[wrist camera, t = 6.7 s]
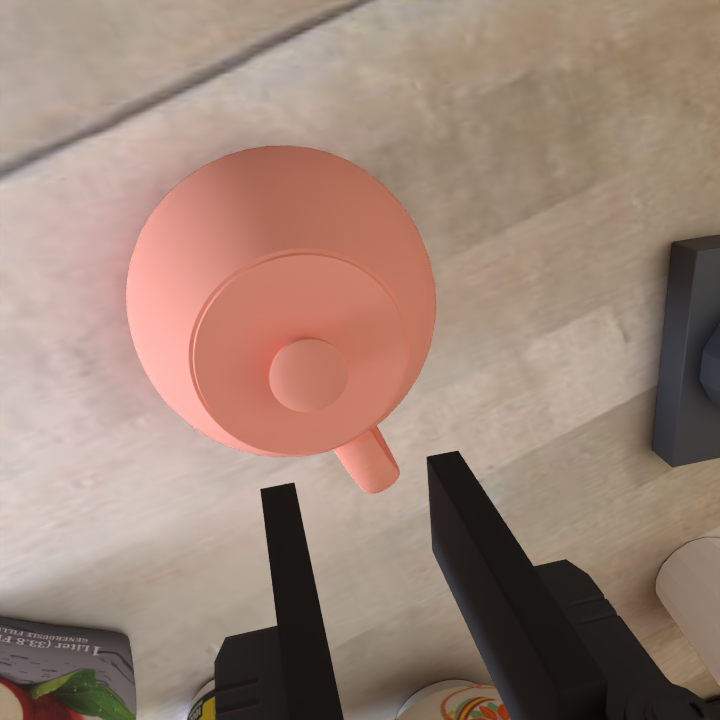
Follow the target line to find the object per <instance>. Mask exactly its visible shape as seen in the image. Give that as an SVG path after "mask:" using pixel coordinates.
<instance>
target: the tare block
mask: <svg viewBox="0 0 720 720" xmlns="http://www.w3.org/2000/svg"><path fill="white" fill-rule="evenodd" d="M652 451H654V452H655V453H656V454H657V455H658V456H659V457H661V458H662V459H663V460H664V461H665V462H666V463H668V464H669V465H670V466H671V467H677V466H682V465H686V464H691V463H696V462H701V461H706V460H711V459H716V458H720V235H716V236H709V237H703V238H696V239H690V240H683V241H676V242H673V243H672V252H671V262H670V272H669V282H668V293H667V303H666V313H665V323H664V333H663V343H662V353H661V363H660V374H659V384H658V394H657V404H656V414H655V424H654V434H653V444H652Z"/></svg>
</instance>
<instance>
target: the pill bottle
mask: <svg viewBox="0 0 720 720" xmlns="http://www.w3.org/2000/svg"><path fill="white" fill-rule="evenodd" d="M215 714H216V713H215V679H214V680H212V681H210V682H209V683H208V684H206V685H205V686H204V687H203V688H202V689H201V690H200V691H199V692H198V693H197V695H196V696H195V697H194V699H193V701H192V702H191V704H190V707H189V710H188V716H187V720H215Z"/></svg>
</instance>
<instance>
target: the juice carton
mask: <svg viewBox="0 0 720 720" xmlns="http://www.w3.org/2000/svg"><path fill="white" fill-rule="evenodd" d="M0 720H136V688H135V678H134V669H133V661H132V654H131V647H130V643H129V639H128V636H126V635H124V634H120V633H115V632H109V631H102V630H94V629H85V628H74V627H63V626H54V625H45V624H39V623H32V622H26V621H20V620H15V619H9V618H4V617H0Z"/></svg>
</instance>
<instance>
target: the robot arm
mask: <svg viewBox="0 0 720 720" xmlns="http://www.w3.org/2000/svg"><path fill="white" fill-rule="evenodd" d="M427 470H428V486H429V502H430V518H431V534H432V550H433V553H434V555H435V557H436V559H437V561H438V564H439V566H440V568H441V570H442V572H443V574H444V577H445V579H446V581H447V583H448V585H449V587H450V589H451V592H452V594H453V596H454V598H455V600H456V602H457V605H458V607H459V609H460V611H461V613H462V615H463V617H464V620H465V622H466V624H467V626H468V628H469V630H470V633H471V635H472V637H473V639H474V641H475V643H476V645H477V648H478V650H479V652H480V654H481V656H482V658H483V661H484V663H485V665H486V667H487V669H488V671H489V673H490V676H491V678H492V680H493V682H494V684H495V686H496V689H497V691H498V693H499V695H500V697H501V699H502V701H503V704H504V706H505V708H506V710H507V712H508V714H509V717H510V719H511V720H720V708H719V707H713V706H710V705H707V704H706V703H705V702H704V700H703V699H701V698H700V697H698V696H697V695H695V694H694V693H692V692H691V691H689V690H688V689H686V688H683V687H680V686H678V685H675V684H672V683H671V682H670V681H669V680H668V679H667V678H666V677H665V676H664V674H663V673H662V672H661V670H660V669H659V668H658V666H657V665H656V664H655V662H654V661H653V660H652V658H651V657H650V656H649V654H648V653H647V652H646V650H645V649H644V648H643V646H642V645H641V644H640V642H639V641H638V640H637V638H636V637H635V636H634V634H633V633H632V632H631V630H630V629H629V628H628V626H627V625H626V624H625V622H624V621H623V620H622V618H621V617H620V616H617V613H616V610H615V609H614V608H613V606H612V605H611V604H610V602H609V601H608V600H607V599H605V598H604V594H603V593H602V592H601V590H600V589H599V588H598V586H597V585H596V584H595V582H594V581H593V580H592V578H591V577H590V576H589V575H588V574H587V573H585V572H584V571H582V570H581V569H579V568H578V567H577V566H575V565H574V564H572V563H571V562H569V561H568V560H566V559H565V560H560V561H556V562H551V563H547V564H543V565H538V566H533V565H532V563H531V562H530V560H529V559H528V557H527V555H526V554H525V552H524V551H523V549H522V548H521V546H520V545H519V543H518V542H517V540H516V539H515V537H514V536H513V534H512V532H511V531H510V529H509V528H508V526H507V525H506V523H505V522H504V520H503V519H502V517H501V516H500V514H499V513H498V511H497V509H496V508H495V506H494V505H493V503H492V502H491V500H490V499H489V497H488V496H487V494H486V493H485V491H484V490H483V488H482V486H481V485H480V483H479V482H478V480H477V479H476V477H475V476H474V474H473V473H472V471H471V470H470V468H469V467H468V465H467V463H466V462H465V460H464V459H463V457H462V456H461V454H460V453H459V451H454V452H449V453H443V454H438V455H433V456H428V457H427ZM261 497H262V505H263V513H264V521H265V530H266V538H267V546H268V554H269V562H270V570H271V578H272V586H273V594H274V602H275V610H276V618H277V626H274V627H270V628H265V629H261V630H256V631H252V632H247V633H243V634H238V635H234V636H229V637H226V638H225V640H224V642H223V644H222V646H221V649H220V651H219V653H218V655H217V658H216V660H215V662H214V667H215V713H216V714H215V720H344V719H343V714H342V709H341V705H340V700H339V695H338V690H337V685H336V681H335V676H334V671H333V666H332V661H331V657H330V652H329V647H328V642H327V637H326V633H325V628H324V623H323V618H322V613H321V608H320V604H319V599H318V594H317V589H316V584H315V580H314V575H313V570H312V565H311V560H310V556H309V551H308V546H307V541H306V536H305V532H304V527H303V522H302V517H301V512H300V508H299V503H298V498H297V493H296V488H295V484H294V483H289V484H284V485H279V486H274V487H269V488H264V489H261Z"/></svg>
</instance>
